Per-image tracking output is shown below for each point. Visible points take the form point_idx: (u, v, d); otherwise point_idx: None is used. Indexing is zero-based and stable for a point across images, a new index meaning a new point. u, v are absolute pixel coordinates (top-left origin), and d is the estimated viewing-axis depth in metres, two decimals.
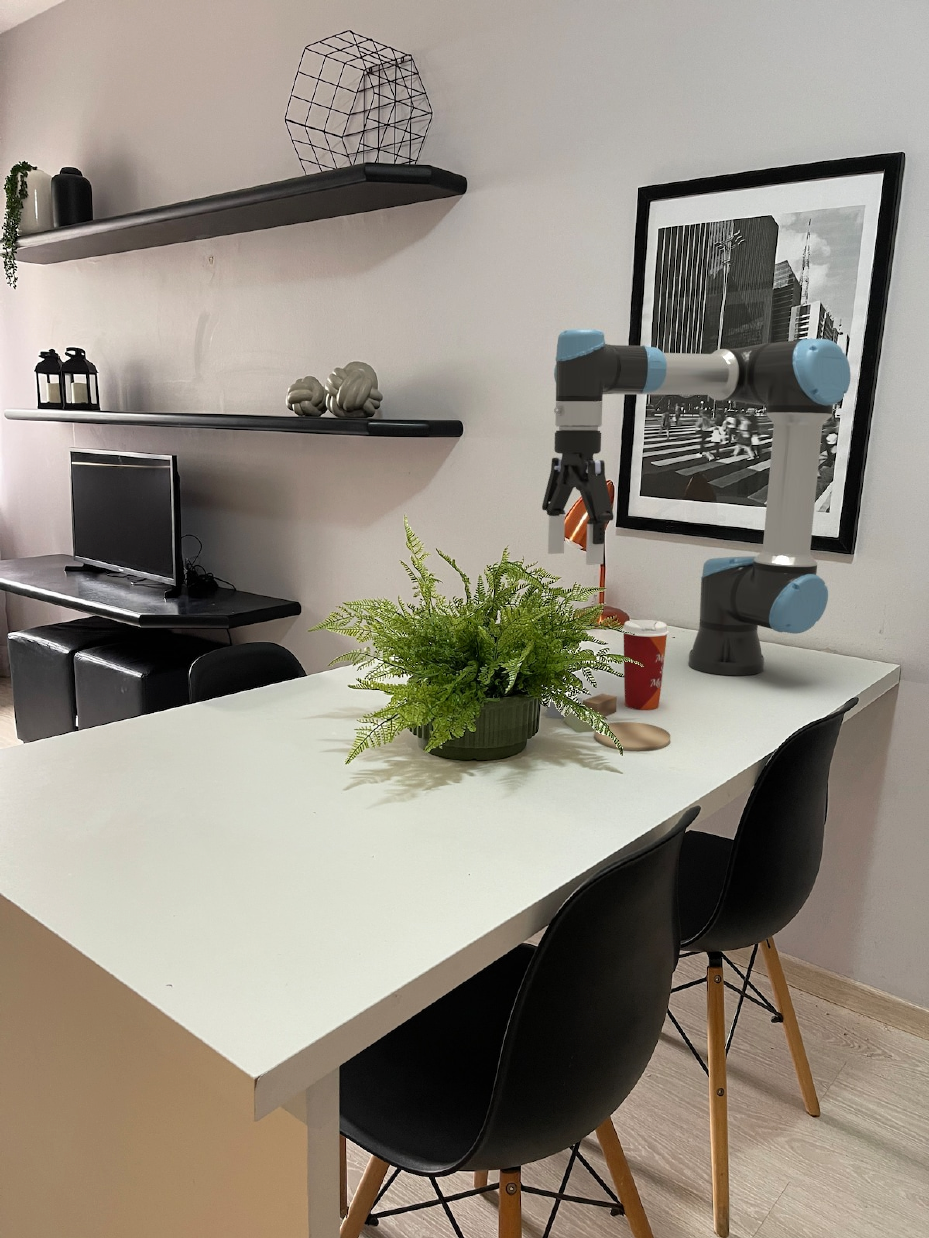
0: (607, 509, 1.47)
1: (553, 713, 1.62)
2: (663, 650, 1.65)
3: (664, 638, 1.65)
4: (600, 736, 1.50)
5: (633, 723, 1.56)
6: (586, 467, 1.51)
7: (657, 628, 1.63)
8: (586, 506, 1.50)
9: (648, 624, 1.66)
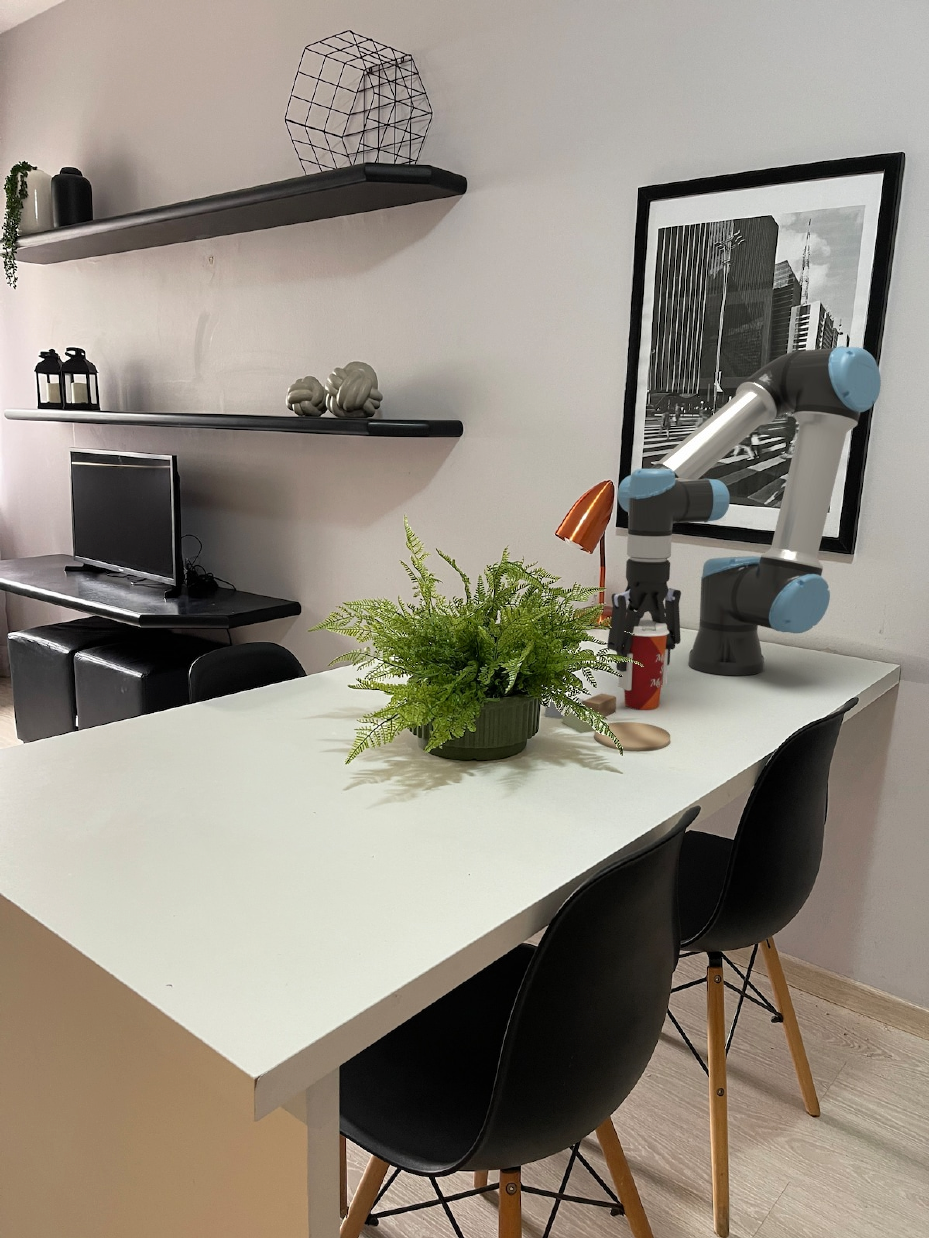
0: (613, 641, 1.64)
1: (551, 712, 1.62)
2: (663, 650, 1.65)
3: (664, 638, 1.65)
4: (600, 736, 1.50)
5: (633, 723, 1.56)
6: None
7: (657, 628, 1.63)
8: None
9: (648, 624, 1.66)
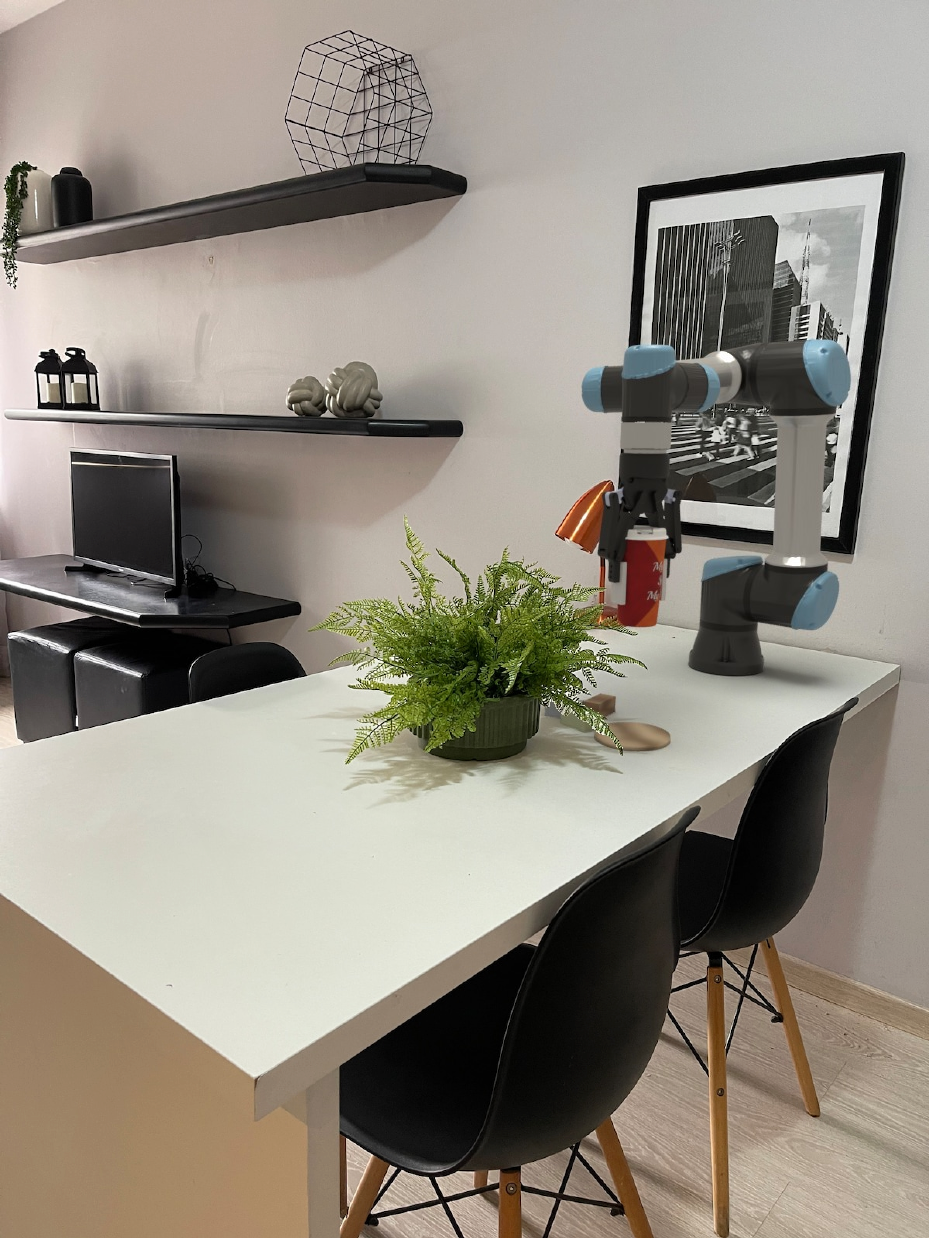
0: (604, 547, 1.42)
1: (550, 711, 1.63)
2: (662, 558, 1.44)
3: (663, 543, 1.43)
4: (600, 736, 1.50)
5: (633, 723, 1.56)
6: None
7: (655, 531, 1.42)
8: None
9: (644, 528, 1.44)
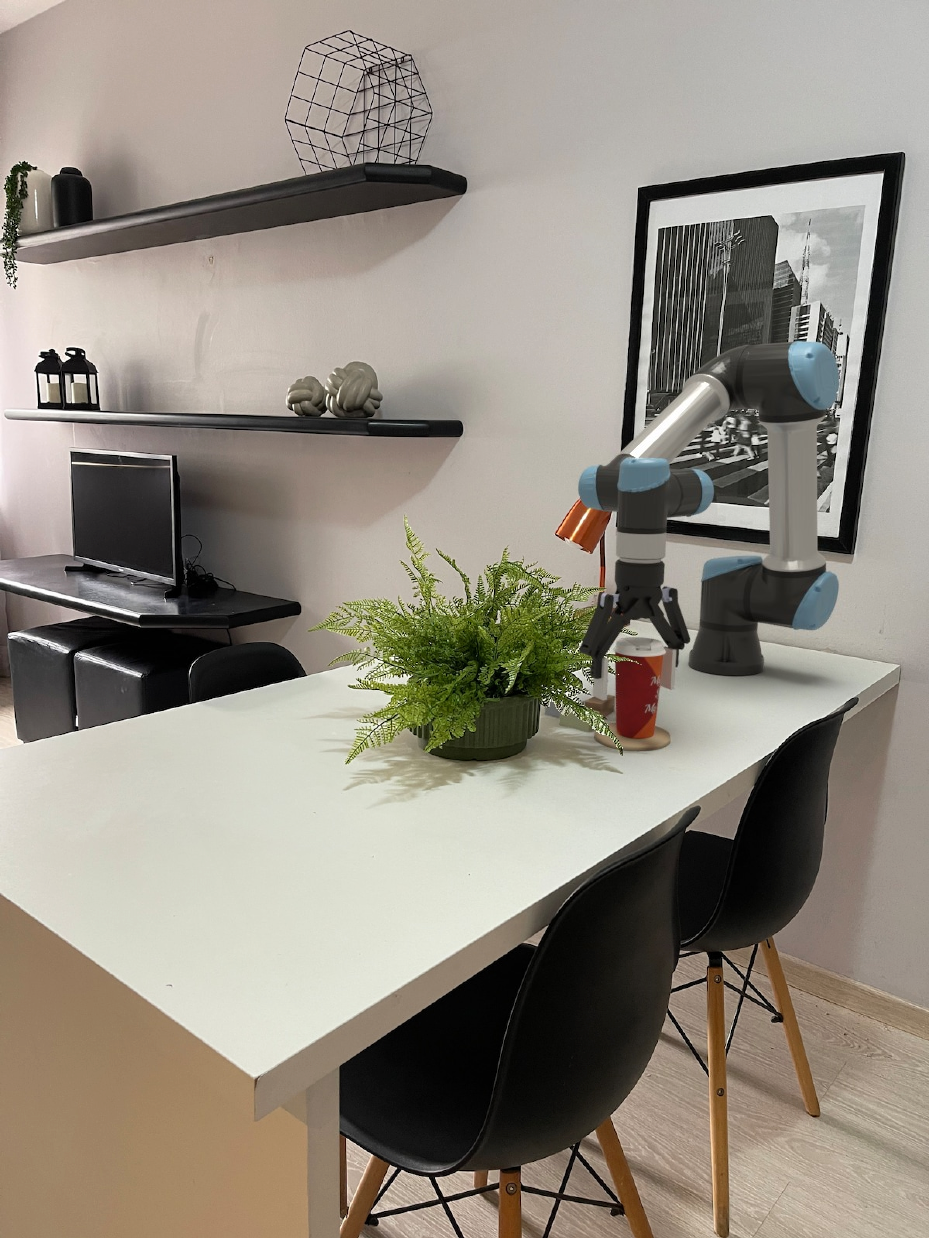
0: (588, 644, 1.44)
1: (550, 710, 1.63)
2: (659, 672, 1.48)
3: (660, 658, 1.47)
4: (600, 736, 1.50)
5: None
6: None
7: (653, 647, 1.46)
8: None
9: (643, 642, 1.48)
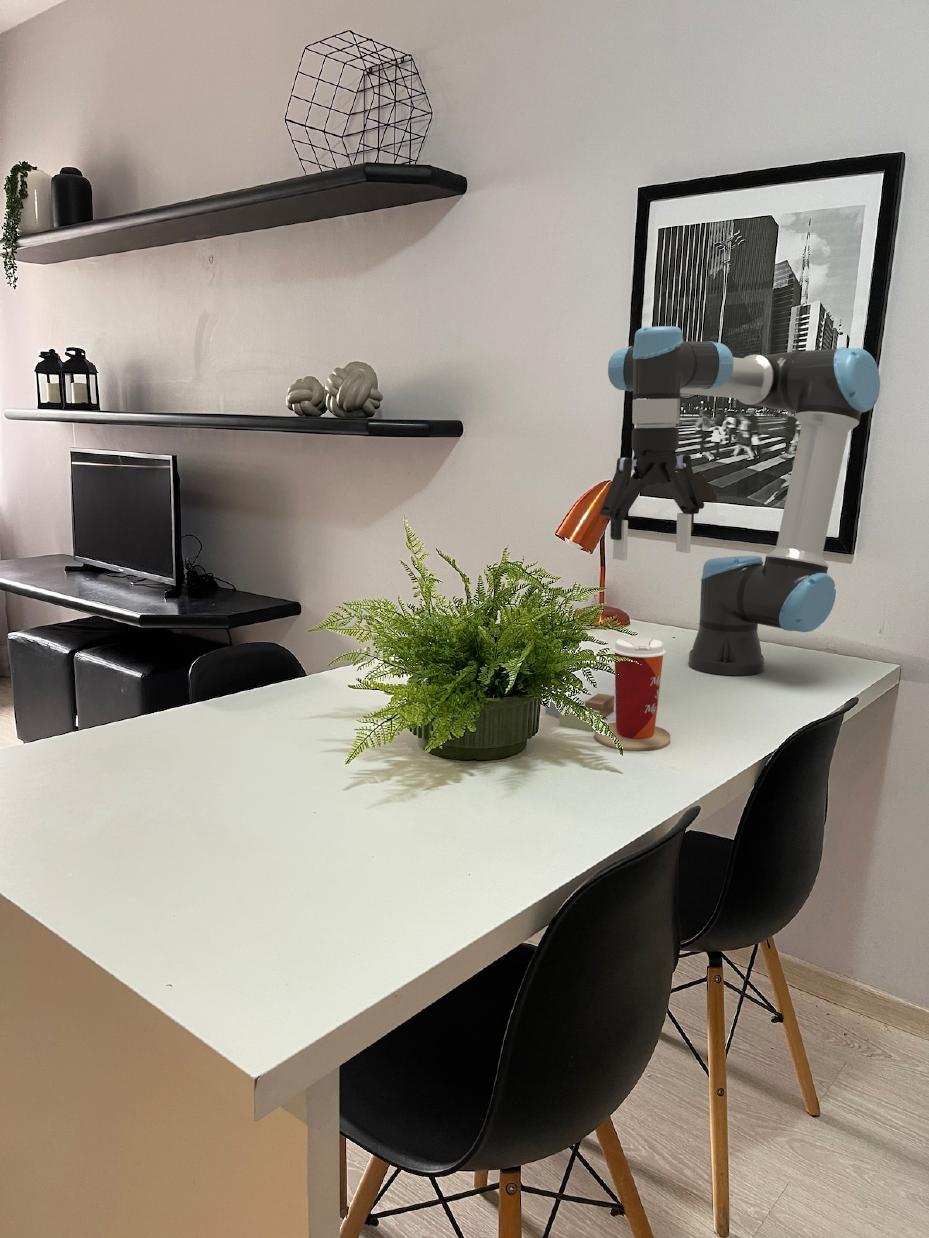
0: (608, 505, 1.51)
1: (550, 710, 1.63)
2: (659, 672, 1.47)
3: (660, 659, 1.47)
4: (600, 736, 1.50)
5: None
6: None
7: (652, 648, 1.45)
8: None
9: (642, 643, 1.48)
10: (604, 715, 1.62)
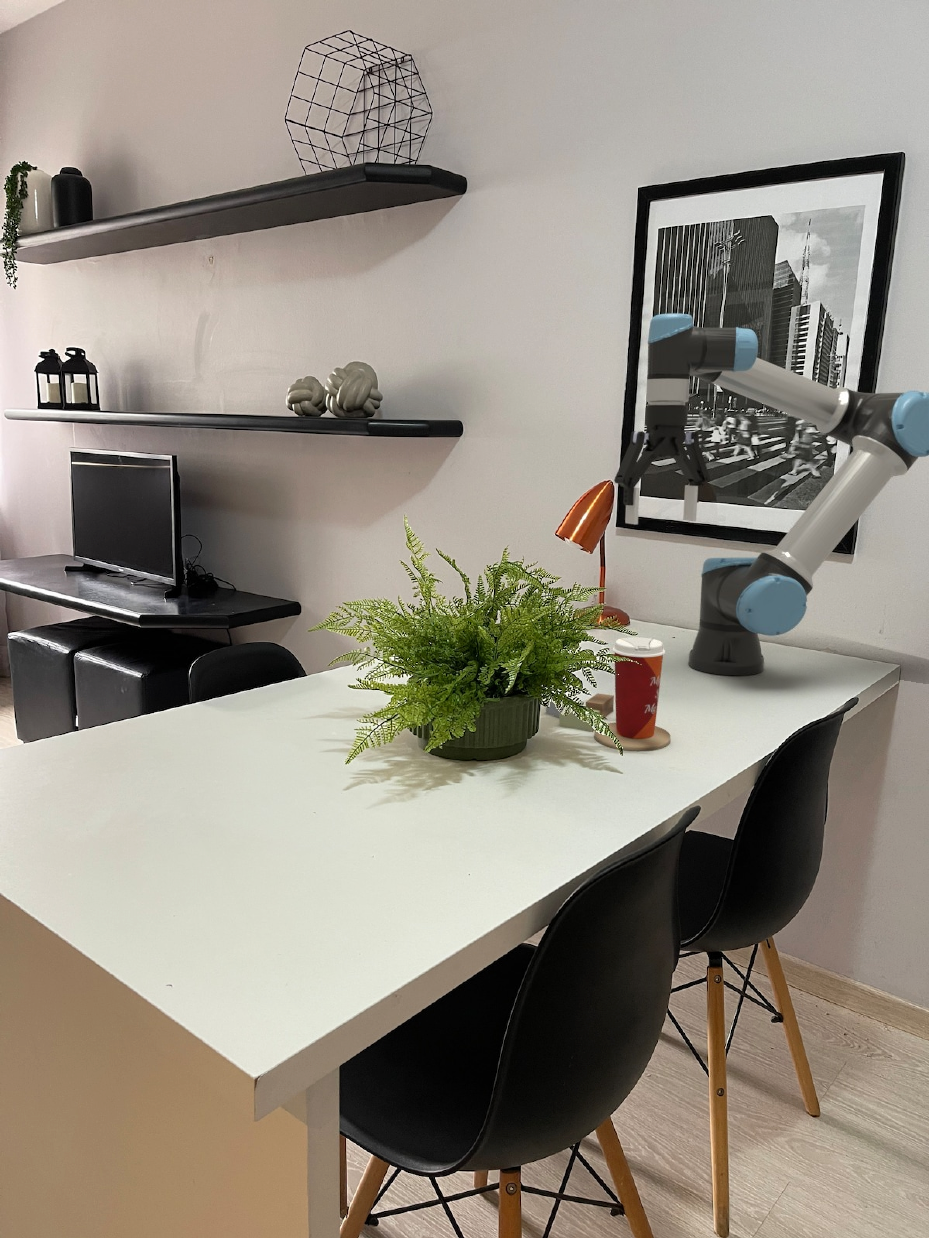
0: (622, 474, 1.68)
1: (550, 710, 1.63)
2: (659, 672, 1.48)
3: (660, 659, 1.47)
4: (600, 736, 1.50)
5: None
6: None
7: (652, 648, 1.45)
8: None
9: (642, 643, 1.48)
10: (604, 715, 1.62)
